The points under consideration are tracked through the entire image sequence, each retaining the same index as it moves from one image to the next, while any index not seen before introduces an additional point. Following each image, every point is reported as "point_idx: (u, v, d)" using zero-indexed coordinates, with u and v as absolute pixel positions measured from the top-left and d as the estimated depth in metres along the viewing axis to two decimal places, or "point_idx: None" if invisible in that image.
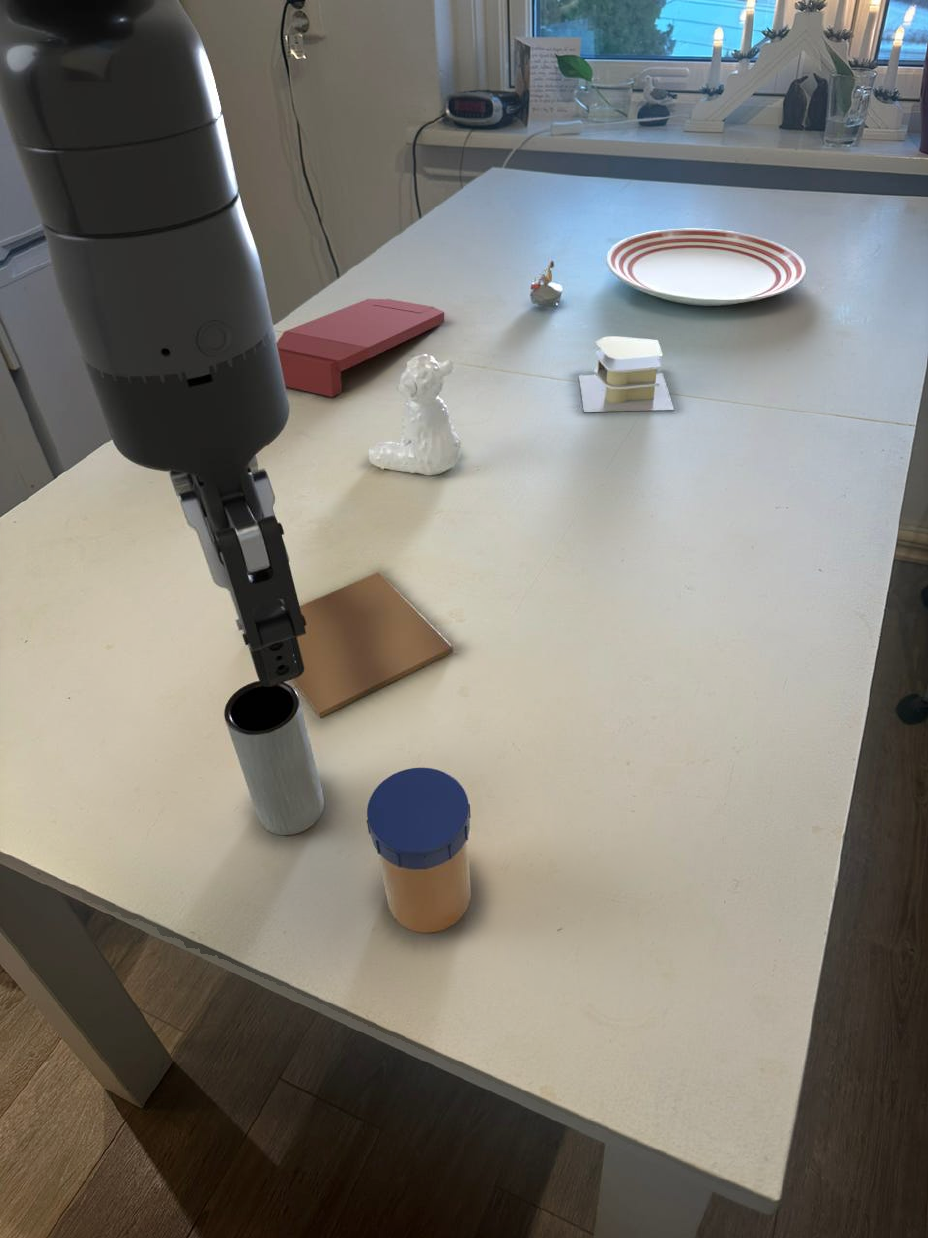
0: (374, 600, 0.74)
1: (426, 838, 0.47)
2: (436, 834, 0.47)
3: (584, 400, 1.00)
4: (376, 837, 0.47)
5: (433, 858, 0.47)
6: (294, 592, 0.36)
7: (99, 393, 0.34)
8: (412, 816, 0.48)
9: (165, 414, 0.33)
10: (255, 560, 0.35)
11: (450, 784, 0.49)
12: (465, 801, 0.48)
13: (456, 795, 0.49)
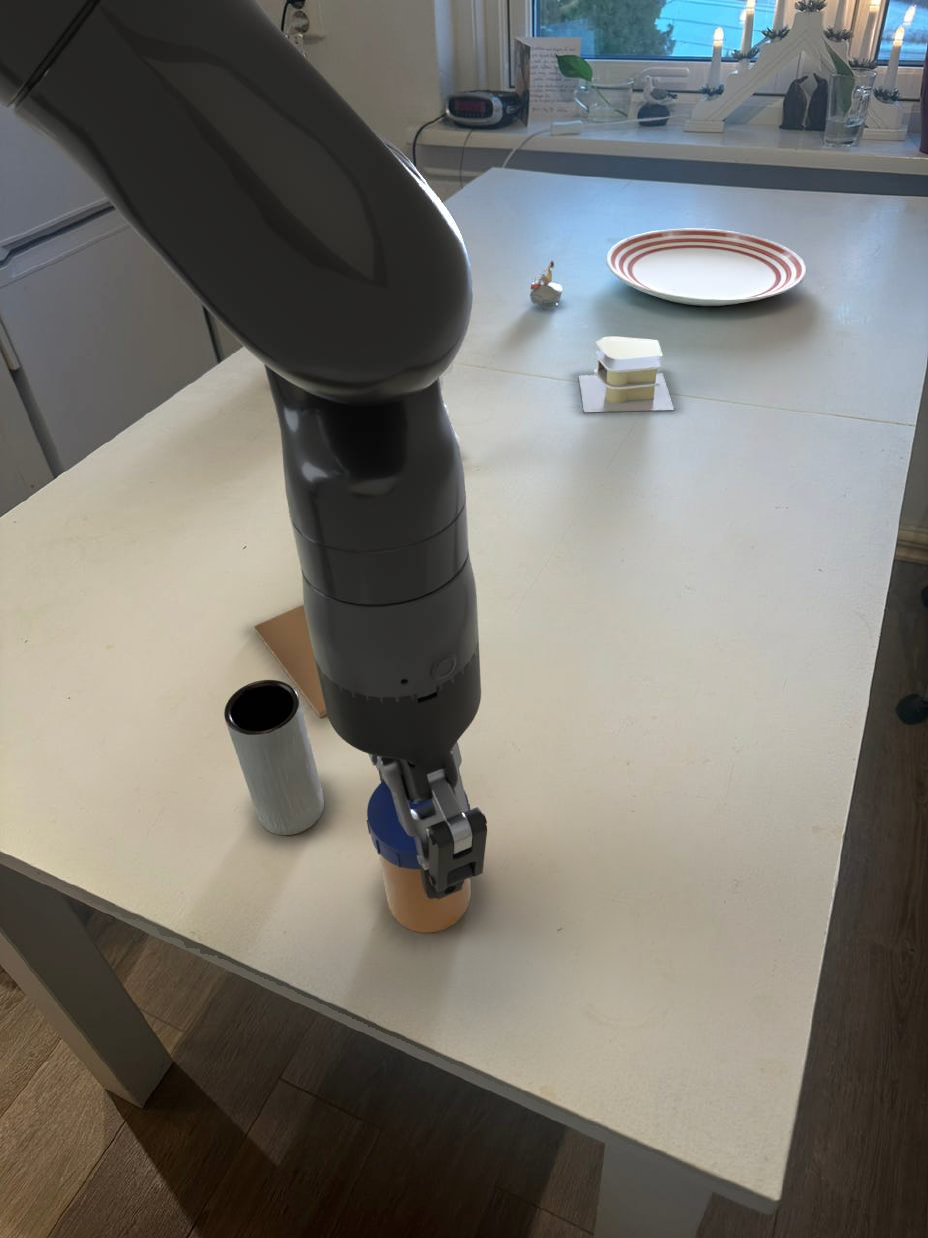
0: None
1: None
2: None
3: (584, 400, 1.00)
4: (376, 837, 0.47)
5: None
6: (483, 856, 0.42)
7: (331, 696, 0.39)
8: None
9: (393, 722, 0.38)
10: (461, 847, 0.40)
11: None
12: None
13: None
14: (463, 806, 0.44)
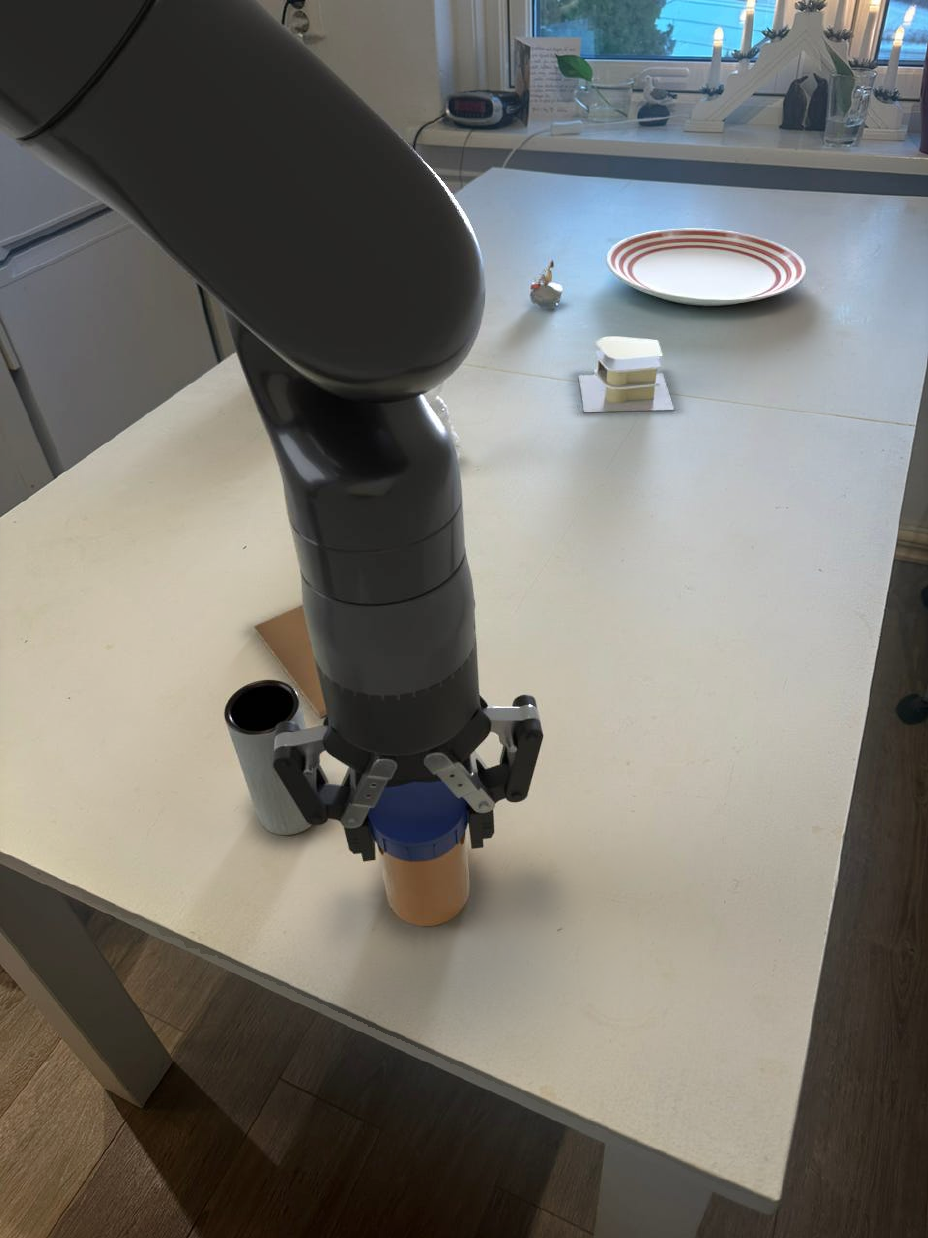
0: None
1: (453, 800, 0.48)
2: None
3: (584, 400, 1.00)
4: (433, 841, 0.46)
5: None
6: None
7: (425, 708, 0.38)
8: (424, 806, 0.48)
9: (473, 675, 0.40)
10: None
11: None
12: None
13: None
14: None
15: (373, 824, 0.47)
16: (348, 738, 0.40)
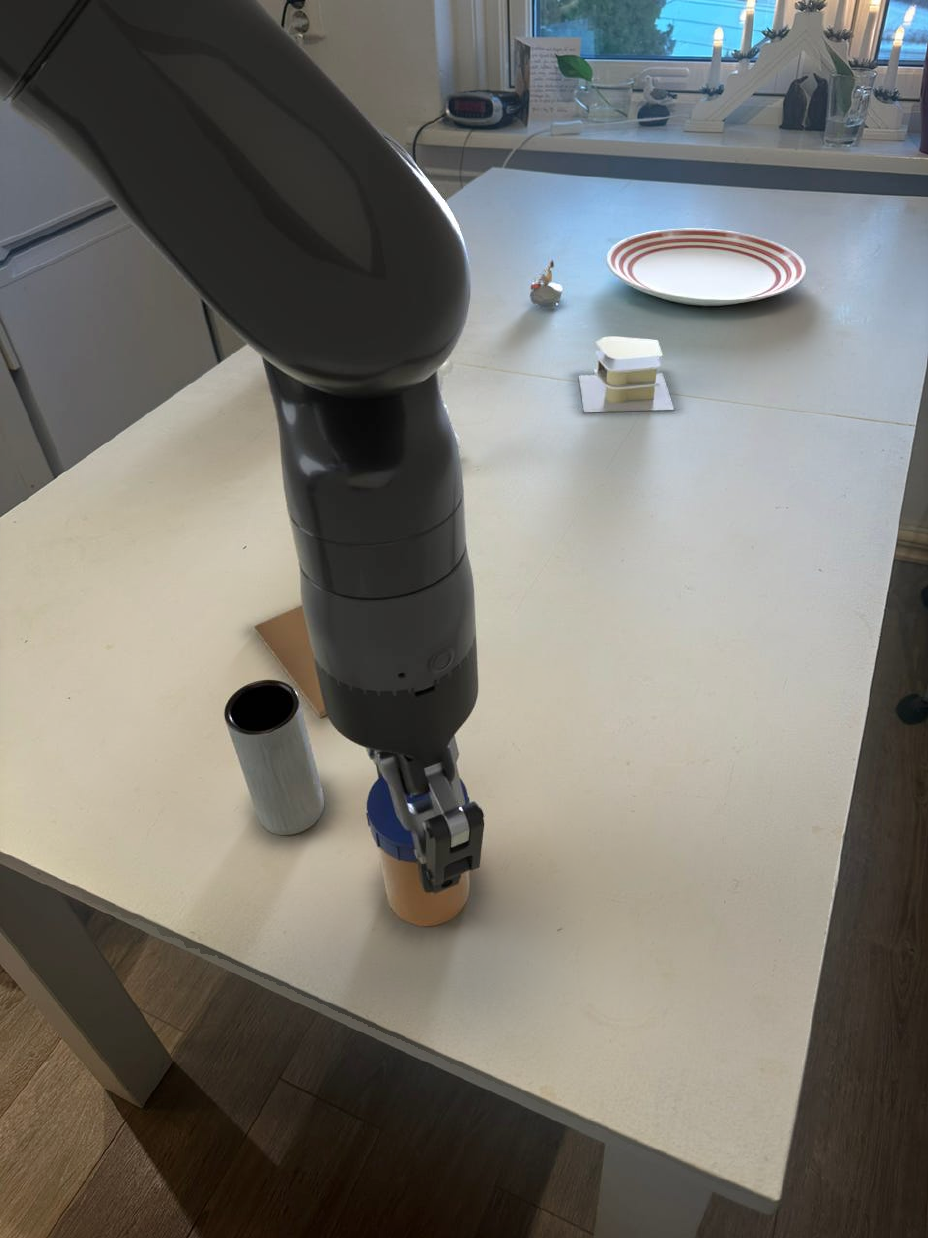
0: None
1: None
2: None
3: (584, 400, 1.00)
4: None
5: None
6: (480, 850, 0.42)
7: (328, 690, 0.39)
8: None
9: (391, 716, 0.38)
10: (458, 841, 0.40)
11: None
12: None
13: None
14: (460, 800, 0.44)
15: (369, 817, 0.48)
16: None
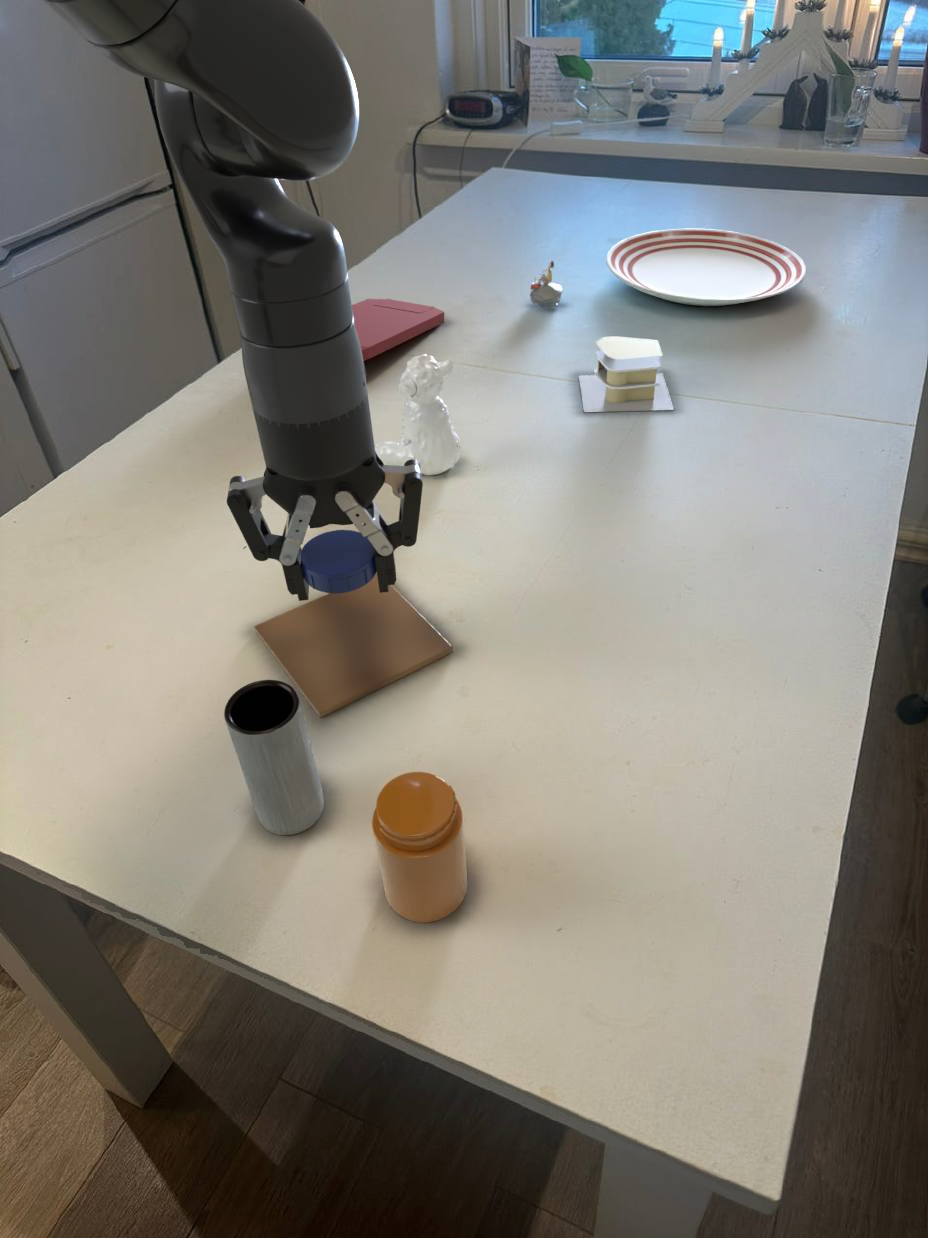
0: (374, 600, 0.74)
1: (354, 537, 0.67)
2: (348, 535, 0.67)
3: (584, 400, 1.00)
4: (374, 555, 0.65)
5: None
6: None
7: (328, 437, 0.55)
8: (345, 549, 0.66)
9: (365, 423, 0.57)
10: None
11: (307, 550, 0.66)
12: (313, 538, 0.67)
13: (313, 543, 0.66)
14: (374, 502, 0.65)
15: (336, 574, 0.63)
16: (277, 468, 0.57)
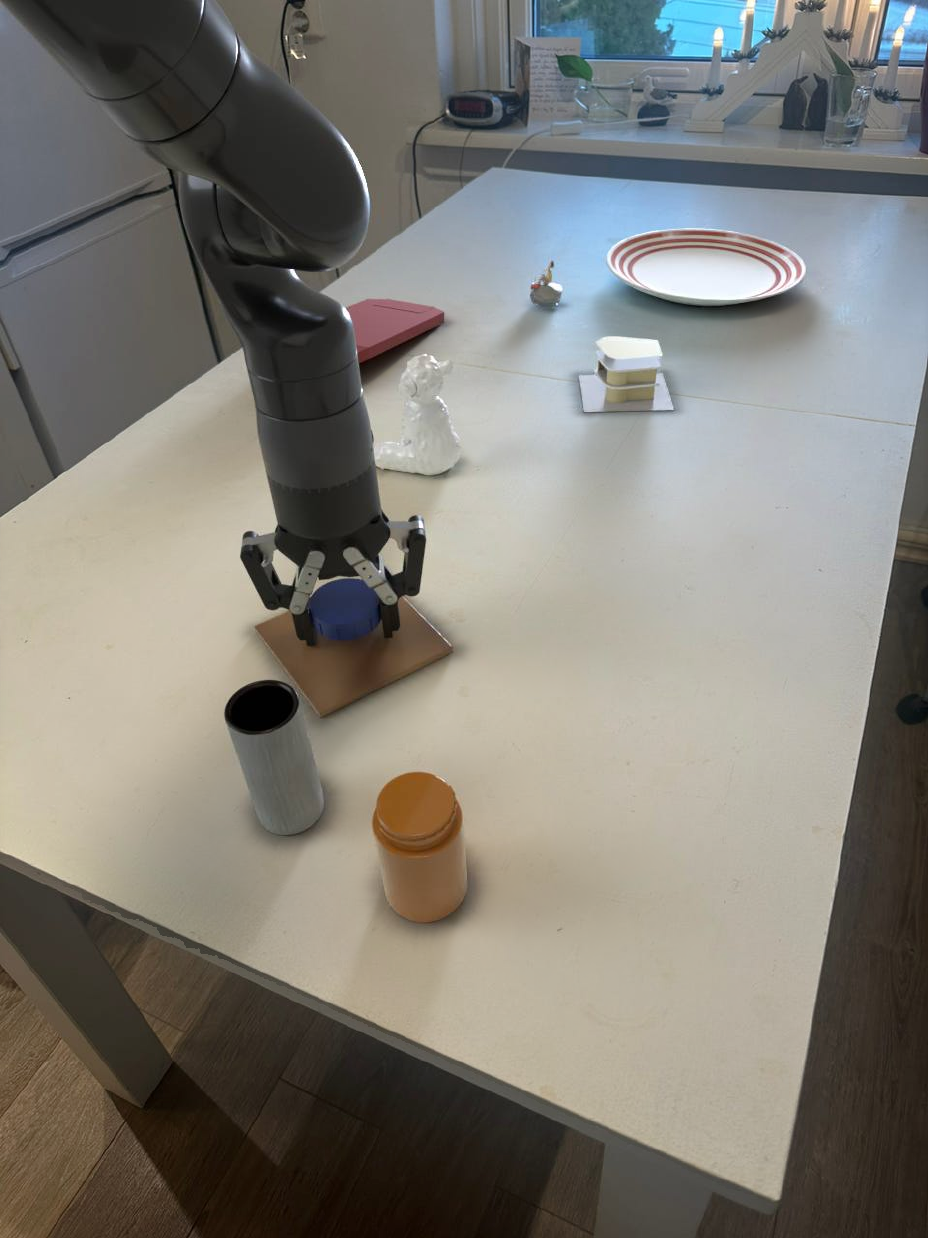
0: None
1: (360, 585, 0.70)
2: (354, 584, 0.70)
3: (584, 400, 1.00)
4: (379, 604, 0.68)
5: None
6: None
7: (337, 501, 0.58)
8: (352, 598, 0.69)
9: (372, 485, 0.60)
10: None
11: (315, 598, 0.69)
12: (321, 587, 0.70)
13: (320, 592, 0.70)
14: (379, 553, 0.68)
15: (343, 624, 0.67)
16: (289, 528, 0.60)
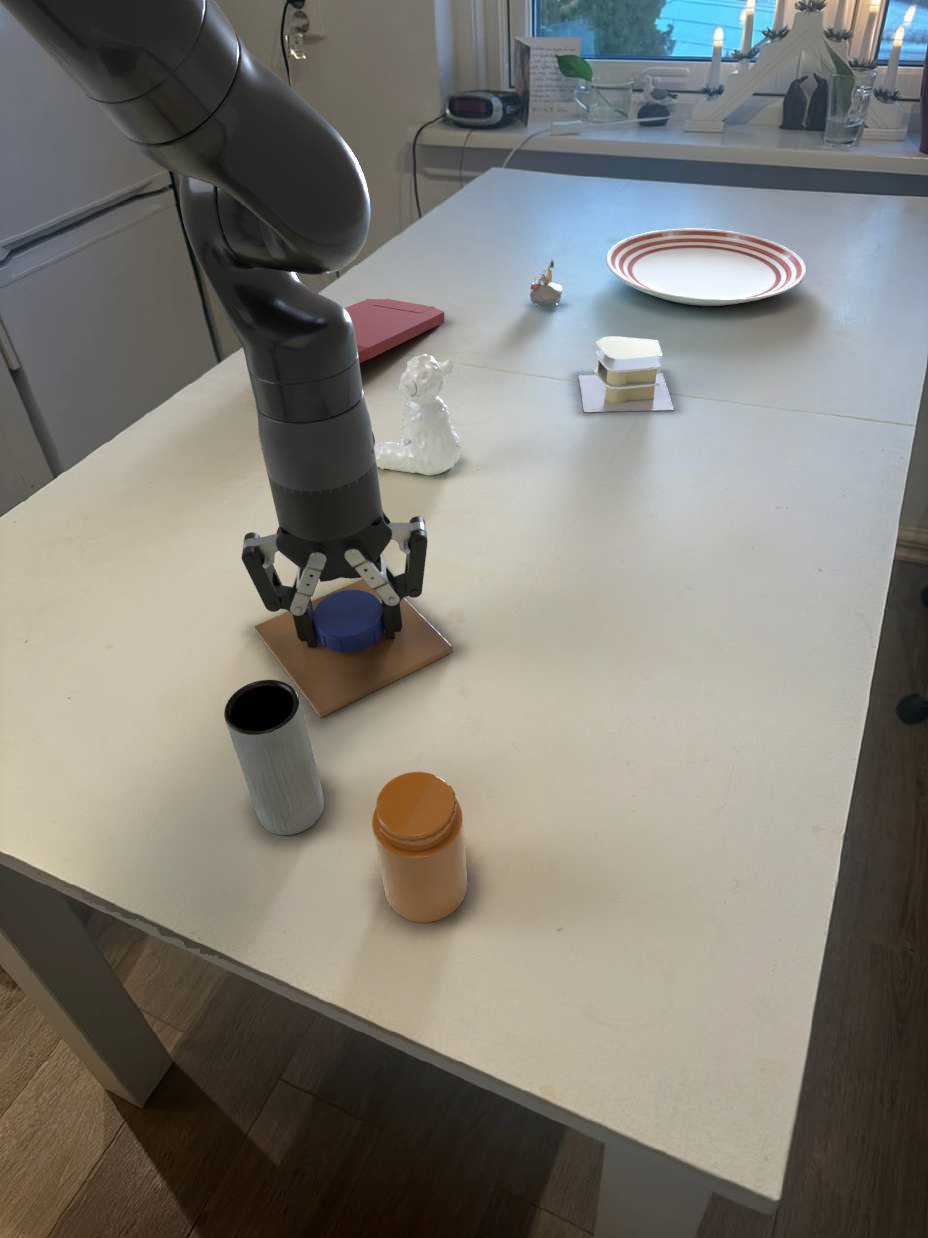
0: None
1: (363, 597, 0.71)
2: (357, 596, 0.71)
3: (584, 400, 1.00)
4: (382, 616, 0.69)
5: None
6: None
7: (339, 503, 0.58)
8: (355, 610, 0.70)
9: (373, 487, 0.60)
10: None
11: (319, 610, 0.70)
12: (325, 599, 0.71)
13: (324, 604, 0.70)
14: (381, 555, 0.68)
15: (346, 635, 0.68)
16: (290, 530, 0.60)
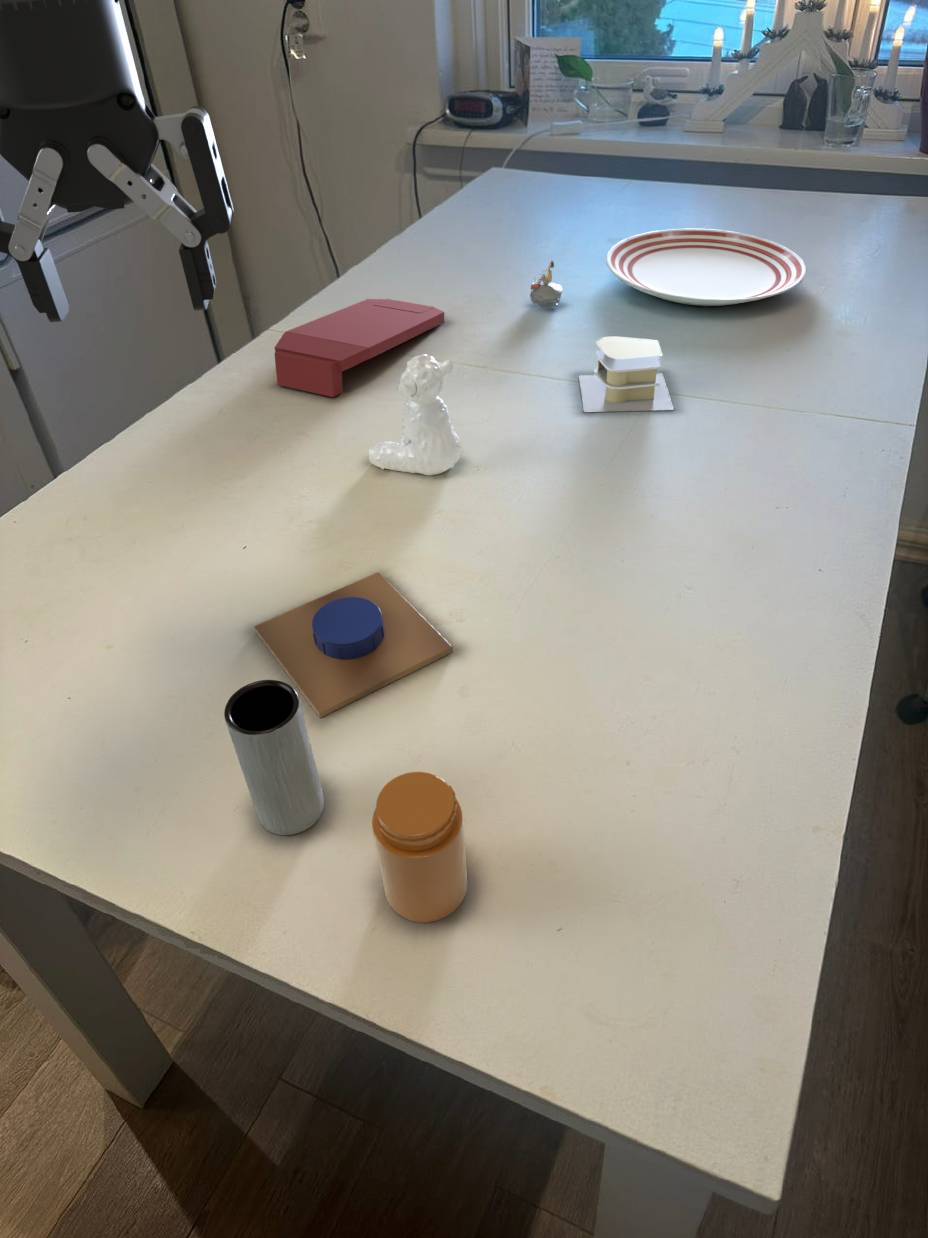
0: (374, 600, 0.74)
1: (362, 604, 0.71)
2: (356, 603, 0.72)
3: (584, 400, 1.00)
4: (381, 623, 0.70)
5: None
6: (223, 171, 0.50)
7: (48, 32, 0.41)
8: (354, 617, 0.70)
9: (110, 30, 0.43)
10: (210, 136, 0.47)
11: (318, 617, 0.70)
12: (324, 606, 0.71)
13: (323, 611, 0.71)
14: (169, 181, 0.50)
15: (345, 643, 0.68)
16: None
